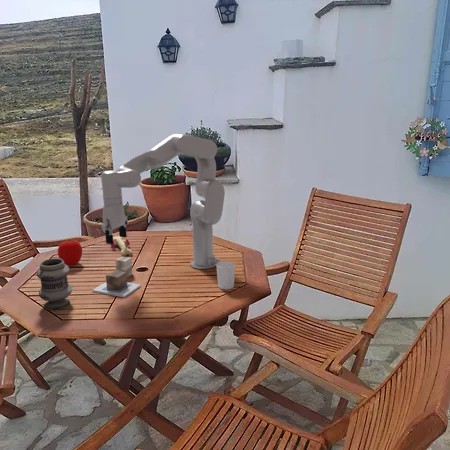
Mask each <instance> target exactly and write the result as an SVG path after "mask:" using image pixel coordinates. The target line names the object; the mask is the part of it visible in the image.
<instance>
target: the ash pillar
mask: <svg viewBox="0 0 450 450" xmlns="http://www.w3.org/2000/svg"><path fill="white" fill-rule="evenodd" d="M132 264H133V263H132V257H130V256H125V257H123V256H120V257H118V258H116V259H115V270H116V271H122V272H126V275H127V278H129V277H130V276H131V275H133V266H132Z"/></svg>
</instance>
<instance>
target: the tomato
mask: <svg viewBox="0 0 450 450" xmlns="http://www.w3.org/2000/svg"><path fill="white" fill-rule="evenodd" d="M82 255H83V247H82V245H81V243H80V242H79V241H77V240H76V239H67V240H65V241H63V242H61V243H60V244H59V245H58V248H57V256H58V258H60V259H63V261H64V264H66V265H67V266H68V267H73V266H77V265H78V264H79V263H80V261H81V259H82Z"/></svg>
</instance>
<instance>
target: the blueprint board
mask: <svg viewBox="0 0 450 450" xmlns="http://www.w3.org/2000/svg"><path fill="white" fill-rule="evenodd" d="M141 287H142V284H138V283H133V282H128V281H127V286H125V287H124V288H122V289H121V290H119V291H117V290H112V289H107V284H106V281H105V282H104V283H102V284H100V285H99V286H97V287H95V288H93V289H92V293H98V294H103V295H109V296H114V297H120V298H126V297H128V296H130V295H131V294H132V293H134V292H136V291H137V290H138V289H140V288H141Z"/></svg>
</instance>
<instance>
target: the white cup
mask: <svg viewBox="0 0 450 450" xmlns="http://www.w3.org/2000/svg"><path fill="white" fill-rule="evenodd" d="M215 267H216V277H217V279H216V280H217V287H218V289H220V290H232V289H233V288H234V286H235V277H236V264H235V262H233V261H227V260H224V261H221V262H219V263H217V264H216V266H215Z"/></svg>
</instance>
